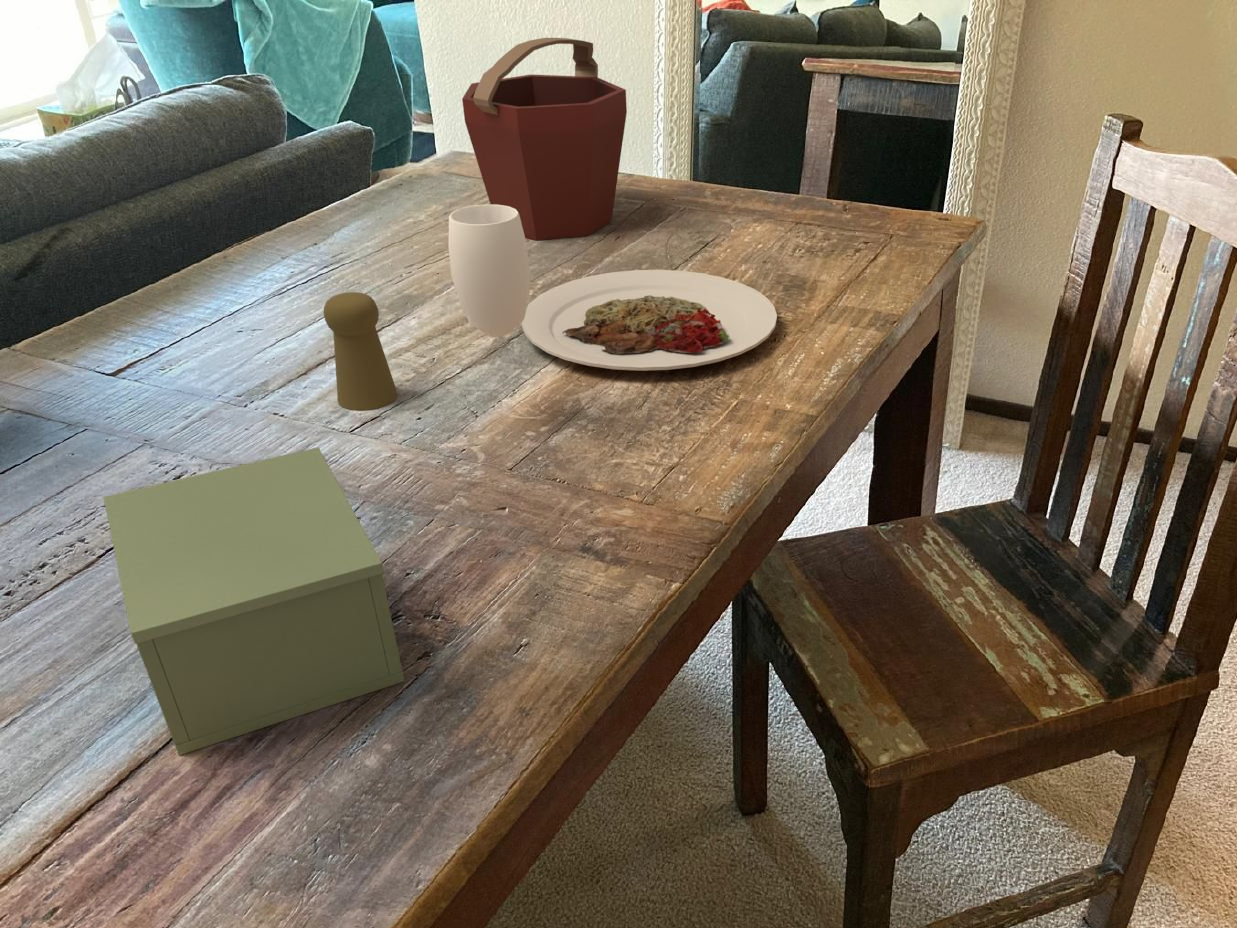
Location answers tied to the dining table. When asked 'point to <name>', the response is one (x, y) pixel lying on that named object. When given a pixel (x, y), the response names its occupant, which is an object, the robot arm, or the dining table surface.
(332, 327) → the cork
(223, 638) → the chest
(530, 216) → the bucket
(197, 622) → the lid
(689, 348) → the plated food
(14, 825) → the dining table surface
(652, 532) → the dining table surface
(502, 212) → the cup
